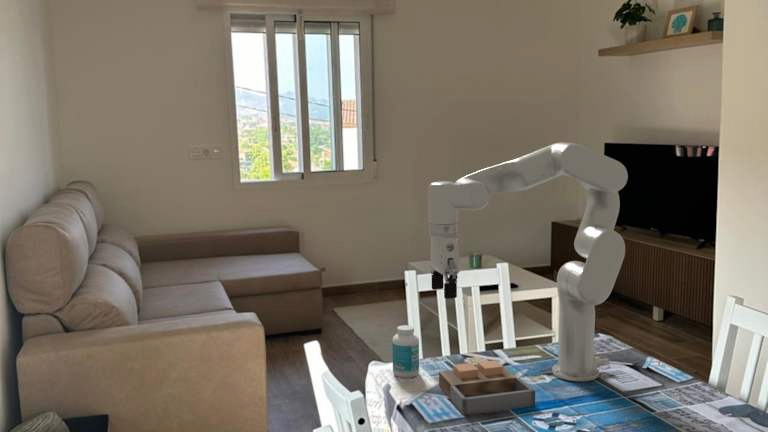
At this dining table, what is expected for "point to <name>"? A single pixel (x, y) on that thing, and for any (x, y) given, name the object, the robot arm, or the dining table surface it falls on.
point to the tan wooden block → (478, 383)
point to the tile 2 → (490, 368)
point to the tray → (494, 399)
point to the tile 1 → (465, 370)
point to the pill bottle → (405, 352)
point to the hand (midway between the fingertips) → (443, 293)
